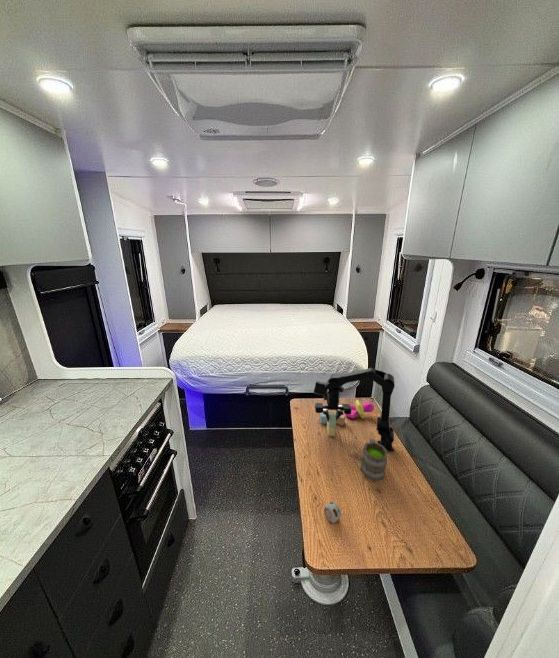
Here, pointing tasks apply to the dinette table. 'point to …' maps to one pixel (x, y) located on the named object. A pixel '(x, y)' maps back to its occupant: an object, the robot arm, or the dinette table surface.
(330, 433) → the mustard brick
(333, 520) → the roller toy
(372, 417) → the dinette table surface
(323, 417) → the slate brick
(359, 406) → the toy
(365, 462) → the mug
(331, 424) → the green brick
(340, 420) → the terracotta brick
